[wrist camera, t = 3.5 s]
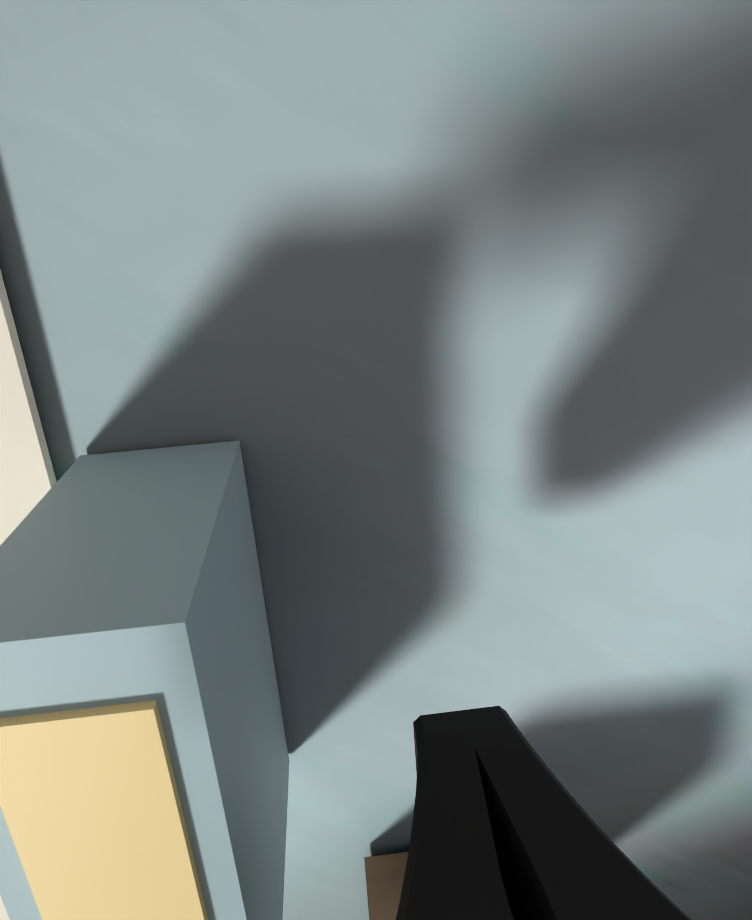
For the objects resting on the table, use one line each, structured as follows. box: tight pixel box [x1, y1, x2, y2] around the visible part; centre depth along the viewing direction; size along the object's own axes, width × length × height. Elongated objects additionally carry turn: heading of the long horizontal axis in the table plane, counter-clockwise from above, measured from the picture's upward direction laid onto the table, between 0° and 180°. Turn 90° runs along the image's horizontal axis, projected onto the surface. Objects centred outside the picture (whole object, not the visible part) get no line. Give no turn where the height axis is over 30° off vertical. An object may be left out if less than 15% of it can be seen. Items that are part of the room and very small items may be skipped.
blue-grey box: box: [0, 440, 289, 920], centre depth 12 cm, size 3×8×6 cm, turn 4°
